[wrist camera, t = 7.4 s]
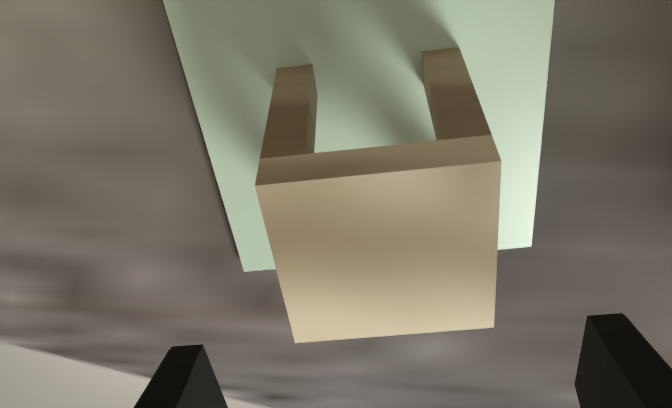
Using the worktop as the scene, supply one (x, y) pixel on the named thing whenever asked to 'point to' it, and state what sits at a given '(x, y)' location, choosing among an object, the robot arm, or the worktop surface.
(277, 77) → the stool
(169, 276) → the worktop surface
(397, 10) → the mat
